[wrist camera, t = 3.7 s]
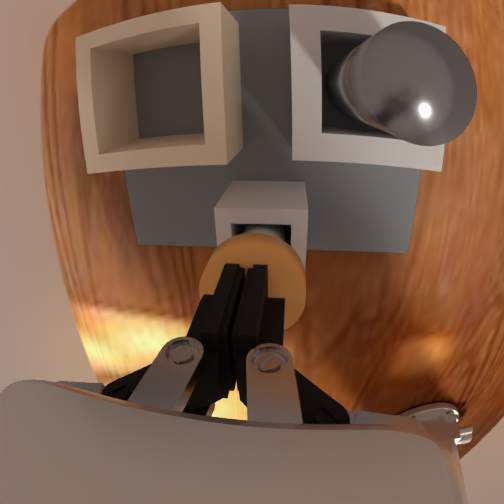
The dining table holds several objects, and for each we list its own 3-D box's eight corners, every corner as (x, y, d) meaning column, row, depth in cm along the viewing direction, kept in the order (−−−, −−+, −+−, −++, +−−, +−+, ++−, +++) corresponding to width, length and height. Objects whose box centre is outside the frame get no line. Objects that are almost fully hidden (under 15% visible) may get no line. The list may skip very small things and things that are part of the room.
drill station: (415, 28, 14) (460, 9, 8) (401, 243, 22) (430, 293, 16) (124, 35, 17) (68, 24, 11) (145, 236, 24) (106, 280, 19)
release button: (304, 198, 17) (309, 251, 11) (301, 268, 19) (302, 338, 13) (224, 197, 17) (192, 248, 12) (229, 266, 19) (205, 332, 14)
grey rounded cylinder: (389, 60, 15) (475, 38, 6) (389, 121, 16) (472, 154, 8) (324, 53, 15) (358, 11, 6) (325, 116, 17) (360, 138, 8)
